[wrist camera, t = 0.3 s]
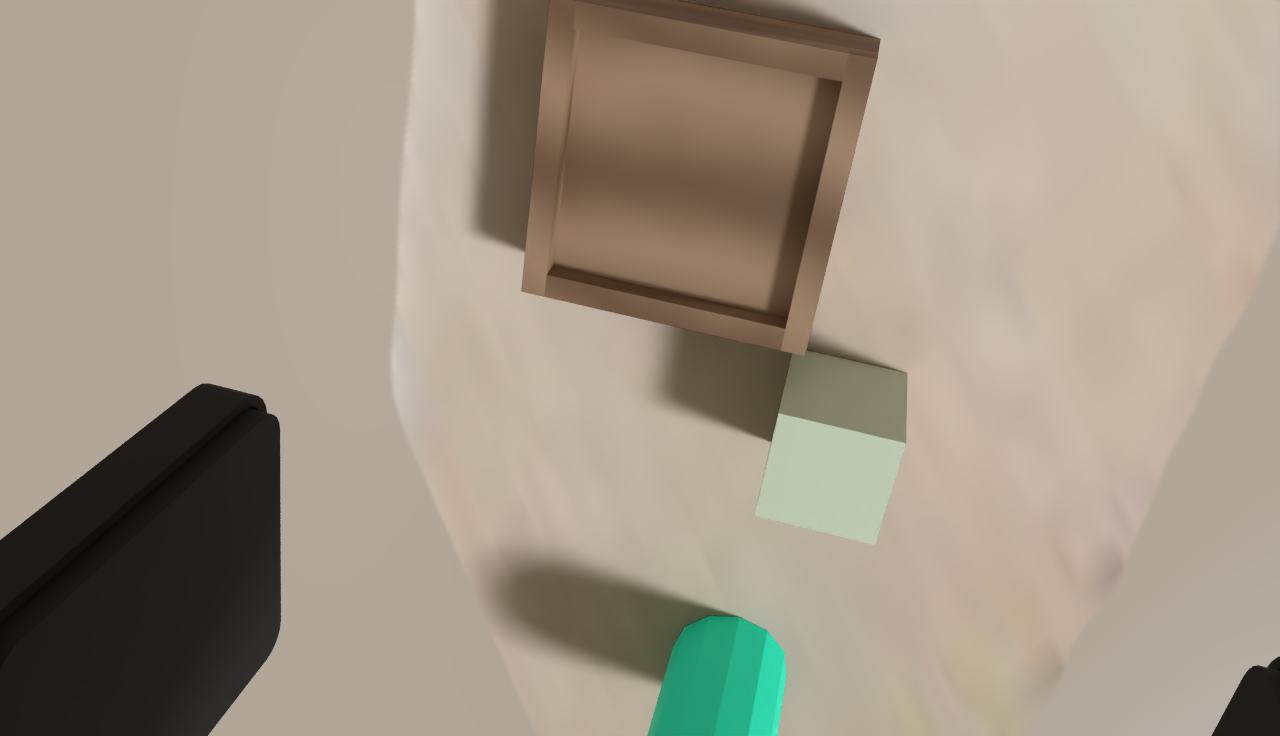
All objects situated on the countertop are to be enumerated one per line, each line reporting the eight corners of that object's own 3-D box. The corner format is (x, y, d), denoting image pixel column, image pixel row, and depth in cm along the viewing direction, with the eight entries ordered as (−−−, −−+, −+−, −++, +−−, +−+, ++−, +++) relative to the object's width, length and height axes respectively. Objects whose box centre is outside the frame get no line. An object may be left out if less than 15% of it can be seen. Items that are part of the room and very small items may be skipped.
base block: (579, -21, 44) (550, -4, 40) (880, 36, 42) (877, 58, 39) (549, 256, 50) (521, 291, 46) (813, 315, 48) (804, 356, 45)
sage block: (793, 346, 49) (778, 413, 43) (907, 372, 48) (905, 443, 43) (771, 441, 51) (754, 515, 46) (879, 467, 50) (874, 545, 45)
